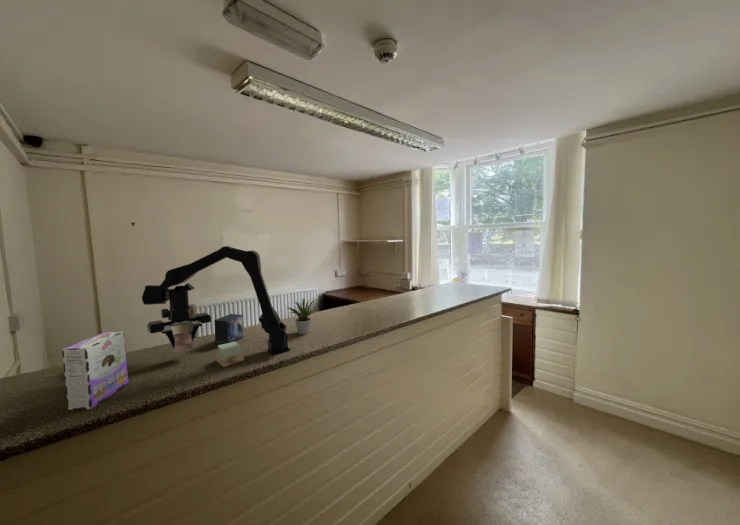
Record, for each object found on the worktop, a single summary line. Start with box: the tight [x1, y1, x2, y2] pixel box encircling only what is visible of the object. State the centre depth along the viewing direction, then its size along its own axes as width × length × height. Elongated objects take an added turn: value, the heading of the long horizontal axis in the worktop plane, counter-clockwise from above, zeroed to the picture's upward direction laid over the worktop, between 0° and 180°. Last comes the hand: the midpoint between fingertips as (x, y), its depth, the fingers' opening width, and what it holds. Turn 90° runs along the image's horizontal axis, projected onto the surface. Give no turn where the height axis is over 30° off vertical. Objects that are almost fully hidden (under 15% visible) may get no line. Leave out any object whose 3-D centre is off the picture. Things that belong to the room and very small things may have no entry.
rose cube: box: [171, 331, 193, 353], centre depth 107 cm, size 5×5×5 cm
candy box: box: [61, 330, 129, 411], centre depth 82 cm, size 14×6×16 cm, turn 5°
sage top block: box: [217, 341, 242, 359], centre depth 106 cm, size 6×6×3 cm
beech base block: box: [215, 351, 245, 367], centre depth 106 cm, size 7×7×3 cm
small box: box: [214, 313, 244, 346], centre depth 126 cm, size 11×6×10 cm, turn 168°
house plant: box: [286, 297, 318, 335], centre depth 137 cm, size 14×14×16 cm
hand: (182, 345), depth 107 cm, fingers closed on rose cube, 5 cm apart
